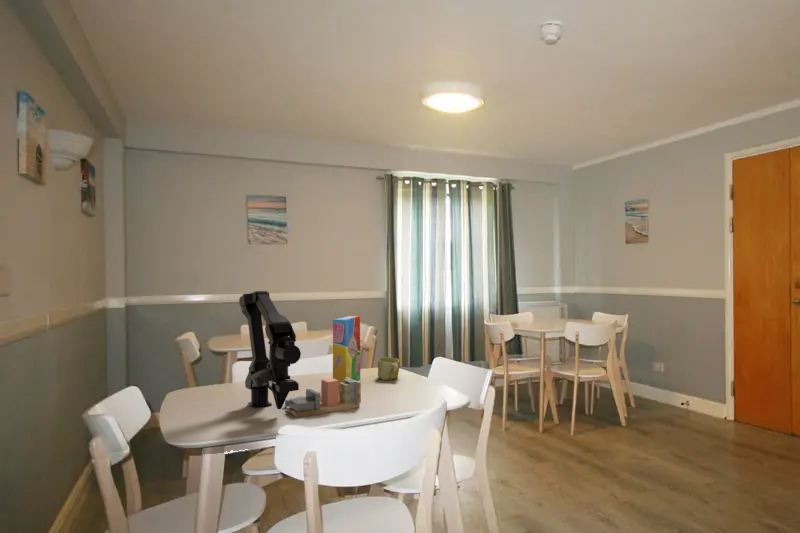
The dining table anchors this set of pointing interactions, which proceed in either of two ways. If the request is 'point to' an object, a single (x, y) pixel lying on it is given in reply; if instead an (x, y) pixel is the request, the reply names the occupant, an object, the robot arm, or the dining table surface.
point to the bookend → (306, 401)
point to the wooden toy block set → (347, 399)
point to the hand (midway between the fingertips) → (279, 409)
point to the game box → (346, 348)
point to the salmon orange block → (330, 392)
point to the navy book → (289, 399)
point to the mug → (388, 368)
